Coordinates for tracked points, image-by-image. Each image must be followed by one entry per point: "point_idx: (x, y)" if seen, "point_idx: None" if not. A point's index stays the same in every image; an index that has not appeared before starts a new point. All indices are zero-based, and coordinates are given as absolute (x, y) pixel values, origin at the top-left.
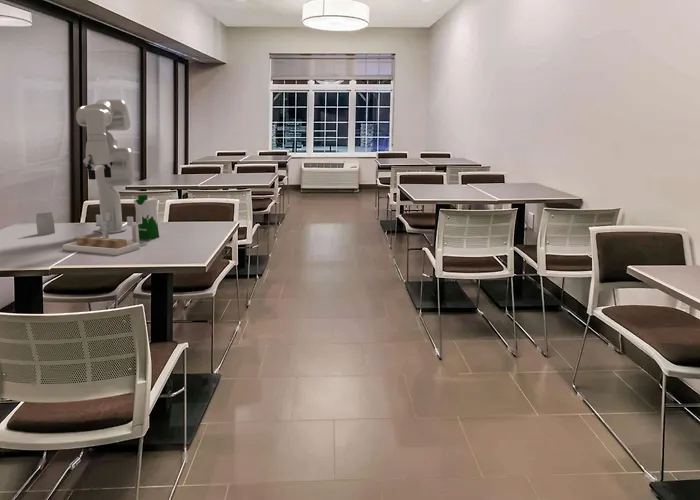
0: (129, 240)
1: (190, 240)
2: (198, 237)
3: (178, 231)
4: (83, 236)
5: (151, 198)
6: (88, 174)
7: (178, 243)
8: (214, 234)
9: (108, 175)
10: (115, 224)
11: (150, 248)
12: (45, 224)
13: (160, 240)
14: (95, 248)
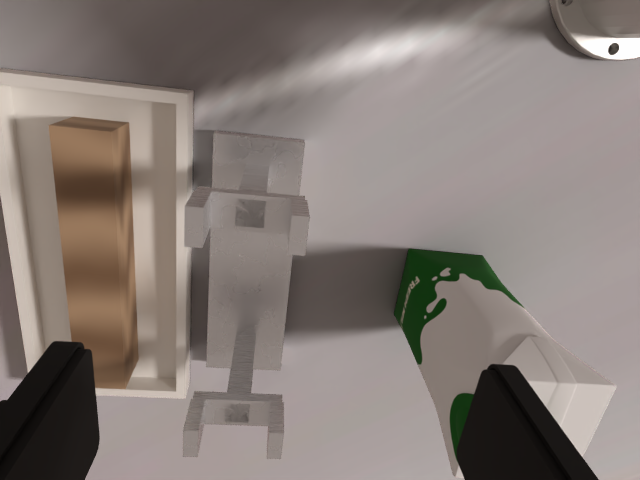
0: (288, 286)
1: (399, 456)
2: None
3: (605, 328)
4: (106, 137)
5: (577, 444)
6: (6, 407)
7: (332, 448)
8: None
9: (472, 462)
10: (615, 23)
11: None
12: None
13: (379, 363)
14: (16, 284)
